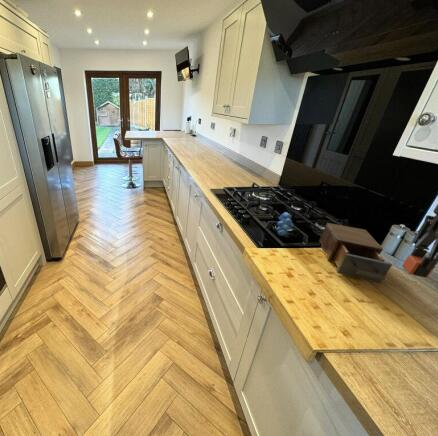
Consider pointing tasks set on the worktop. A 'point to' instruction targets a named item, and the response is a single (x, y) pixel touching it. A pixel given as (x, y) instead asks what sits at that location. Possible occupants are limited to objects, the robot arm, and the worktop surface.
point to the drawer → (360, 262)
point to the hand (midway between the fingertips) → (414, 270)
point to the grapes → (284, 224)
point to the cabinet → (345, 239)
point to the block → (413, 264)
